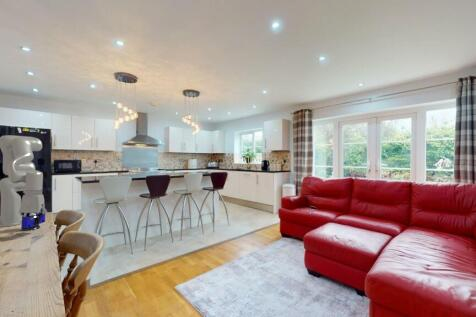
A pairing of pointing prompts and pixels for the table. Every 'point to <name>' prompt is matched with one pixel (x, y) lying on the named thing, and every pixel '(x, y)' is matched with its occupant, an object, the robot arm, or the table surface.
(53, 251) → the table surface
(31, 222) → the cable clip
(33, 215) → the motor
